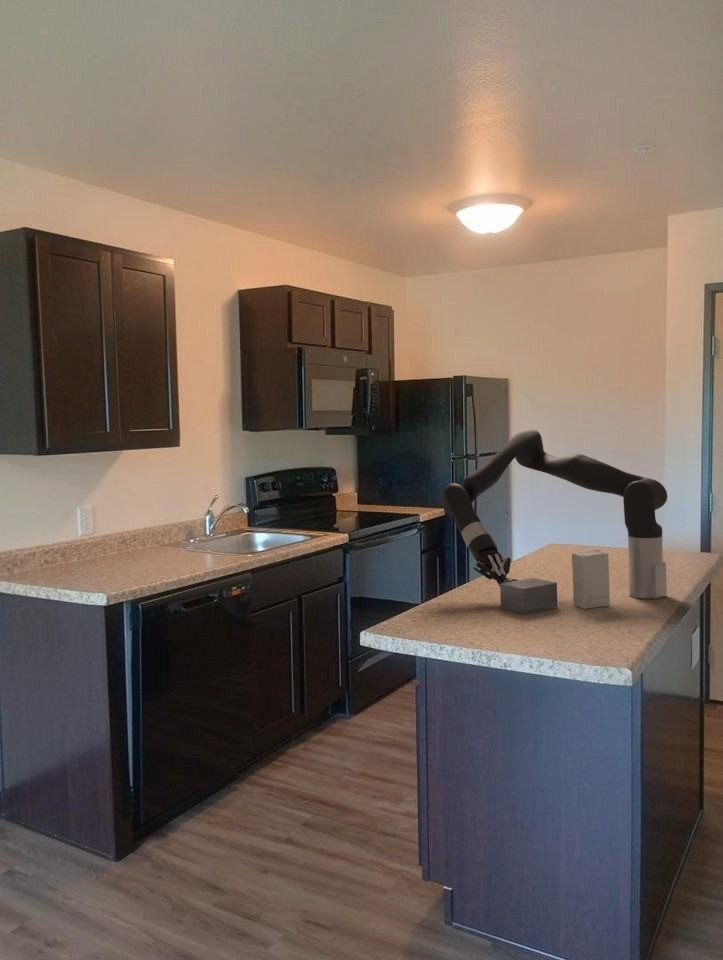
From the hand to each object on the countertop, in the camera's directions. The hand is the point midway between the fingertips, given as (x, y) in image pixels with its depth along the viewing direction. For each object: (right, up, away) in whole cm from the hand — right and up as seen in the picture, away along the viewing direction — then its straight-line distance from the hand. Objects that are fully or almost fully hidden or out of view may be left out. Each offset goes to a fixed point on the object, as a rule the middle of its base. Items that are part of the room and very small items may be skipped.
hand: (506, 588), depth 222 cm
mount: (+5, -4, -7) cm, 10 cm away
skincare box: (+22, -4, -7) cm, 23 cm away
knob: (+3, -4, -5) cm, 7 cm away
